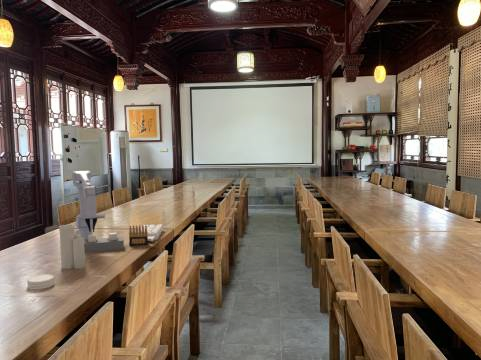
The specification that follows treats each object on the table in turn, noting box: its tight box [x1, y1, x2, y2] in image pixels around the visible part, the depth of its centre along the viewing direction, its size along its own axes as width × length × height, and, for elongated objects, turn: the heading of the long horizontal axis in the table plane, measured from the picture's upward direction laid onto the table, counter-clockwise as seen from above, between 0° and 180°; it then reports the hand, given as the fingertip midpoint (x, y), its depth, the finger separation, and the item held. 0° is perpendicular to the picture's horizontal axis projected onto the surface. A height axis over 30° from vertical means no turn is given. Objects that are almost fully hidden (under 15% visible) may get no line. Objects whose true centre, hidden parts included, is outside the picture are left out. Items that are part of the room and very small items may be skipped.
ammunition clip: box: [128, 224, 149, 247], centre depth 222 cm, size 11×2×12 cm, turn 102°
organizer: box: [135, 223, 164, 242], centre depth 243 cm, size 13×5×35 cm
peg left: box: [88, 233, 97, 243], centre depth 212 cm, size 4×4×4 cm
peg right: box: [108, 232, 118, 241], centre depth 216 cm, size 4×4×4 cm
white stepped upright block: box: [58, 224, 86, 270], centre depth 182 cm, size 11×7×20 cm, turn 92°
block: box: [84, 236, 125, 254], centre depth 214 cm, size 22×10×5 cm, turn 110°
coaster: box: [26, 273, 55, 291], centre depth 158 cm, size 10×10×4 cm
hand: (91, 231), depth 212 cm, fingers closed
